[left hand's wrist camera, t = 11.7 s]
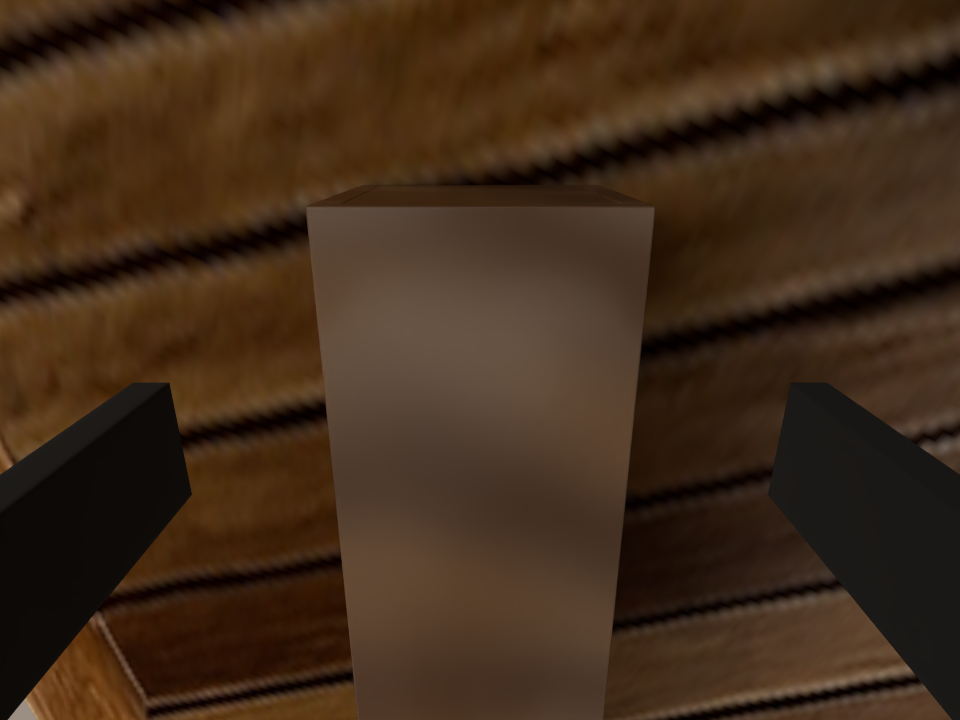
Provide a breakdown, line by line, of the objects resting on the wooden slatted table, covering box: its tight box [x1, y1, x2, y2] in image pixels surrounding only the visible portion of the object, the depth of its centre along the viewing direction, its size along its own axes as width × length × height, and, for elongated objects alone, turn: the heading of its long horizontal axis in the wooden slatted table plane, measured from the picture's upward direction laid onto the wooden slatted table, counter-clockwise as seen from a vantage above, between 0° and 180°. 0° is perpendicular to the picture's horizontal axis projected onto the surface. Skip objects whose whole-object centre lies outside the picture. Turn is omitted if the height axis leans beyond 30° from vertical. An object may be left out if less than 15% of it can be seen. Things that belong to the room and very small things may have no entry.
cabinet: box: [306, 185, 656, 720], centre depth 24 cm, size 20×10×8 cm, turn 0°
